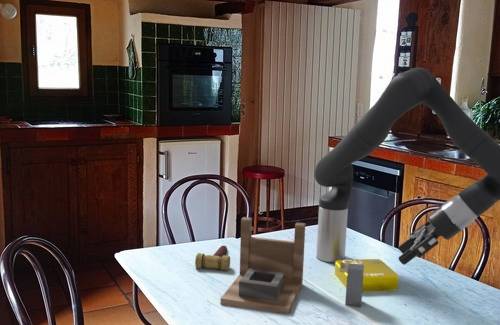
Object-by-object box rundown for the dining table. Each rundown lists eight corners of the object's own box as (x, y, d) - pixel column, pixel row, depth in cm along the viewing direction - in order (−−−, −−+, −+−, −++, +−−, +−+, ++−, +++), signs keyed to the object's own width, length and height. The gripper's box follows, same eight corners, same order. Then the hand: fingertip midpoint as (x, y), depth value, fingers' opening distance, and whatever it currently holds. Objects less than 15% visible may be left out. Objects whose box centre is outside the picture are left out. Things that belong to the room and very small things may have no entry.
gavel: (211, 239, 181) (240, 241, 179) (210, 252, 181) (239, 254, 180) (195, 255, 160) (227, 258, 159) (194, 270, 161) (227, 273, 159)
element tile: (349, 293, 147) (350, 276, 147) (332, 273, 162) (333, 258, 161) (400, 291, 150) (401, 275, 149) (379, 271, 164) (380, 256, 164)
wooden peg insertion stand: (241, 276, 156) (243, 216, 153) (302, 284, 152) (305, 223, 149) (220, 303, 137) (221, 236, 134) (288, 314, 133) (292, 244, 130)
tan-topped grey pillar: (339, 297, 143) (341, 262, 141) (361, 301, 142) (364, 265, 140) (337, 304, 139) (339, 267, 138) (360, 307, 138) (363, 270, 136)
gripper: (439, 199, 137) (390, 236, 142) (444, 212, 124) (390, 253, 128) (459, 220, 137) (409, 258, 142) (466, 236, 123) (411, 277, 128)
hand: (400, 256), depth 135 cm, fingers open, 8 cm apart
